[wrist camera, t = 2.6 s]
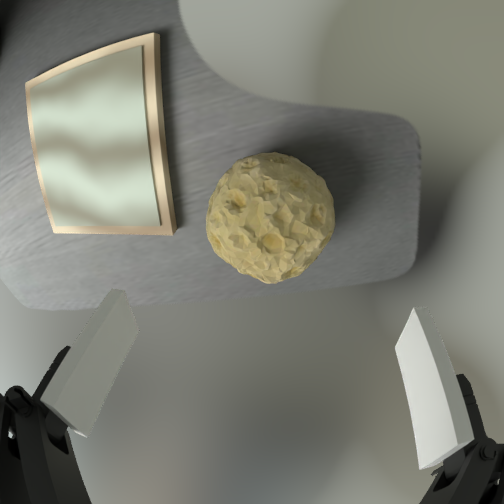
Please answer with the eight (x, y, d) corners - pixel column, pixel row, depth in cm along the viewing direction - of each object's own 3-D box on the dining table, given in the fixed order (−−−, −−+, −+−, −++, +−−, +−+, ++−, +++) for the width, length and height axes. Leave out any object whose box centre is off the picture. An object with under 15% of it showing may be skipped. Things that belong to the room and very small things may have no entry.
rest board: (33, 81, 18) (24, 83, 17) (160, 34, 16) (152, 32, 15) (59, 228, 27) (52, 233, 26) (177, 229, 26) (172, 236, 25)
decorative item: (317, 212, 27) (388, 204, 18) (259, 292, 26) (312, 323, 16) (247, 146, 25) (293, 101, 15) (177, 227, 23) (185, 222, 14)
